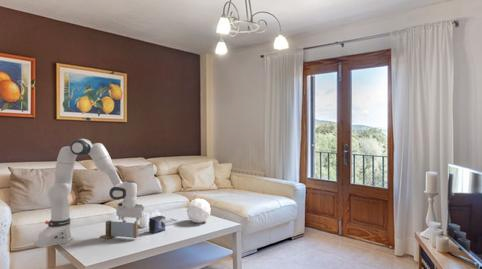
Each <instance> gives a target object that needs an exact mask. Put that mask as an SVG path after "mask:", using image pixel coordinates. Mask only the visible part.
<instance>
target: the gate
mask: <svg viewBox="0 0 482 269" xmlns="http://www.w3.org/2000/svg"><path fill="white" fill-rule="evenodd" d="M111 221H112V222H111V236H117V237H121V238H131V239H138V237H139V222H138V223H135V222H128V221H126V222H123V221H113V220H111Z"/></svg>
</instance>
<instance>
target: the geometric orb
mask: <svg viewBox="0 0 482 269" xmlns="http://www.w3.org/2000/svg"><path fill="white" fill-rule="evenodd" d="M211 211H212V209H211V206H210V203H209V202H208V201H207V200H206V199H203V198H195V199H193V200H191V201H190V202H189V204H188V205H187V208H186V213H187V217H188V219H189V220H190V221H191V222H192V223H197V224H202V223H204V222H206V221H207V220H208V219H209V218H210V216H211Z"/></svg>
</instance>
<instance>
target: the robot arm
mask: <svg viewBox="0 0 482 269" xmlns="http://www.w3.org/2000/svg"><path fill="white" fill-rule="evenodd" d="M86 155H87V156H88V155H89V156H90V157H91V160H92V162H93V164H94V166H95V167H96V169H97V170H99V171H100V172H102V173H105V174H106V175H107V177H108V178H109V180H110V182H111V184H112V187H111V188H110V189H109V194H108V195H109V197H110V198H111V199H112V200H121V199H123V201H120V202H118V203H117V204H116V205H117V206H116V213H115V214H116V216H117V217H120V218H121V220H122V222H127V220H126V218H134V219H135V221H134V223H138V224H139V220H140V219H143V218H144V217H145V207H144V206H143V205H142V204H139V203H138V197H137V195H138V185H137V182H136V181H134V180H130V179H128V180H125V181H122V179H121V177H120V176H119V173H118V172H117V170H116V168H115V165H114V163H113V160H112V158H111V156H110V154H109V152H108V150H107V148H106V147H105V145H104V144H103V143H100V142H95V143H93V142H92V141H91V140H90V139H88V138H79V139H75V140H73V141H72V142H71V144H70V146H68V145H67V146H63V147H61V149H60V150H59V152H58V155H57V159H56V165H55V169H54V184H53V185H52V186H50V187H49V189H48V191H47V196H48V199H49V204H50V220H49V221H48V220H45V222H44V224H46V225H48V226H47V227H45V229H42V231H41V232H40V233H39V234H38V236H37V238H38V239H37V240H36V241H34V242H33V245H34V246H36V247H38V248H48V247H52V246H56V245H57V246H58V245H62V244H65V243H69V242H70V241H71V240H72V239H73V236H72V233H71V217H70V203H69V201H68V200H69V199H68V198H69V197H68V195H69V194H70V193H71V192H72V187H73V174H74V170H75V164H76V159H77V157H78V156H86Z"/></svg>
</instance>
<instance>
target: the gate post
mask: <svg viewBox="0 0 482 269" xmlns="http://www.w3.org/2000/svg"><path fill="white" fill-rule="evenodd" d="M112 221H113V220H106V221H105V234H102V235H100V236H99V237H100V238H101V239H104V240H106V241H107V240H110V239H111V240H112V239H115V238H117V237H118V236H111V222H112Z"/></svg>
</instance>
